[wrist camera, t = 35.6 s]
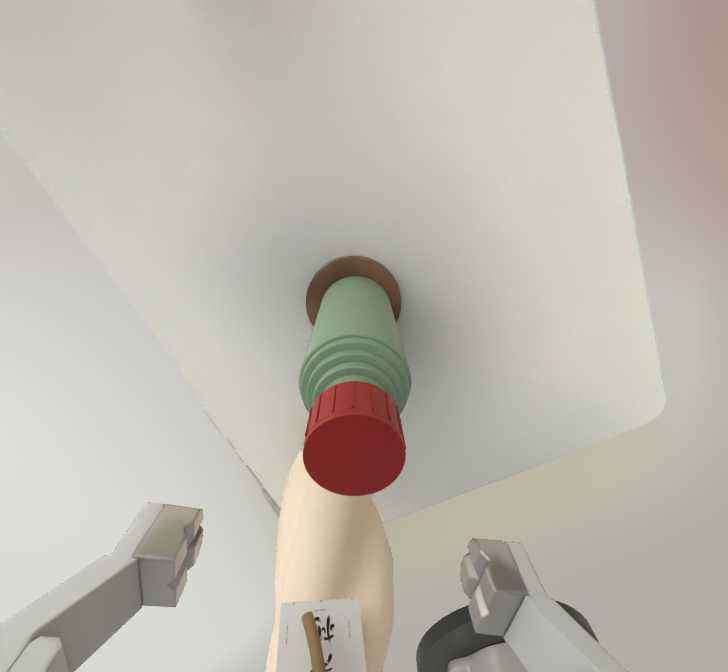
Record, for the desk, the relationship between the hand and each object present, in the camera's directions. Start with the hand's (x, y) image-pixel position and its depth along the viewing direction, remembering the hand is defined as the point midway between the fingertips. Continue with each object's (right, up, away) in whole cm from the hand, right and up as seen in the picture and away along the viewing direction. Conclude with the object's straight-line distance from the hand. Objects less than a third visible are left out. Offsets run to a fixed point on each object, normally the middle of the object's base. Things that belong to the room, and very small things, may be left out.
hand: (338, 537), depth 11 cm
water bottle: (-2, -5, +27) cm, 28 cm away
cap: (0, +1, +4) cm, 4 cm away
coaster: (0, +9, +21) cm, 23 cm away
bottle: (0, +8, +21) cm, 22 cm away
